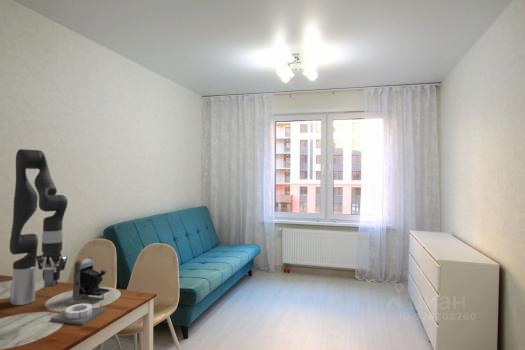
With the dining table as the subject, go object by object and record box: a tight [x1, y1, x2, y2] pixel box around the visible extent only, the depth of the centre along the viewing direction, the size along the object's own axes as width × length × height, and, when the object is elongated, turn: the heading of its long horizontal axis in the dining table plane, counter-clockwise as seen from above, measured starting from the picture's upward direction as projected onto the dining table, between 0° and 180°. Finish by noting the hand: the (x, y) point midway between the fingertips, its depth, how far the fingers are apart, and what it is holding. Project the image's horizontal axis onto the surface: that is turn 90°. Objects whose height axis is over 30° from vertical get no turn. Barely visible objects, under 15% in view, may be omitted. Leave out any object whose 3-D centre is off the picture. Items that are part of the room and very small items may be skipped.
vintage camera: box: [72, 256, 111, 300], centre depth 167 cm, size 10×16×20 cm, turn 79°
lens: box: [43, 264, 58, 288], centre depth 141 cm, size 5×5×9 cm
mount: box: [50, 303, 106, 326], centre depth 146 cm, size 16×14×4 cm
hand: (51, 279), depth 141 cm, fingers closed on lens, 4 cm apart
